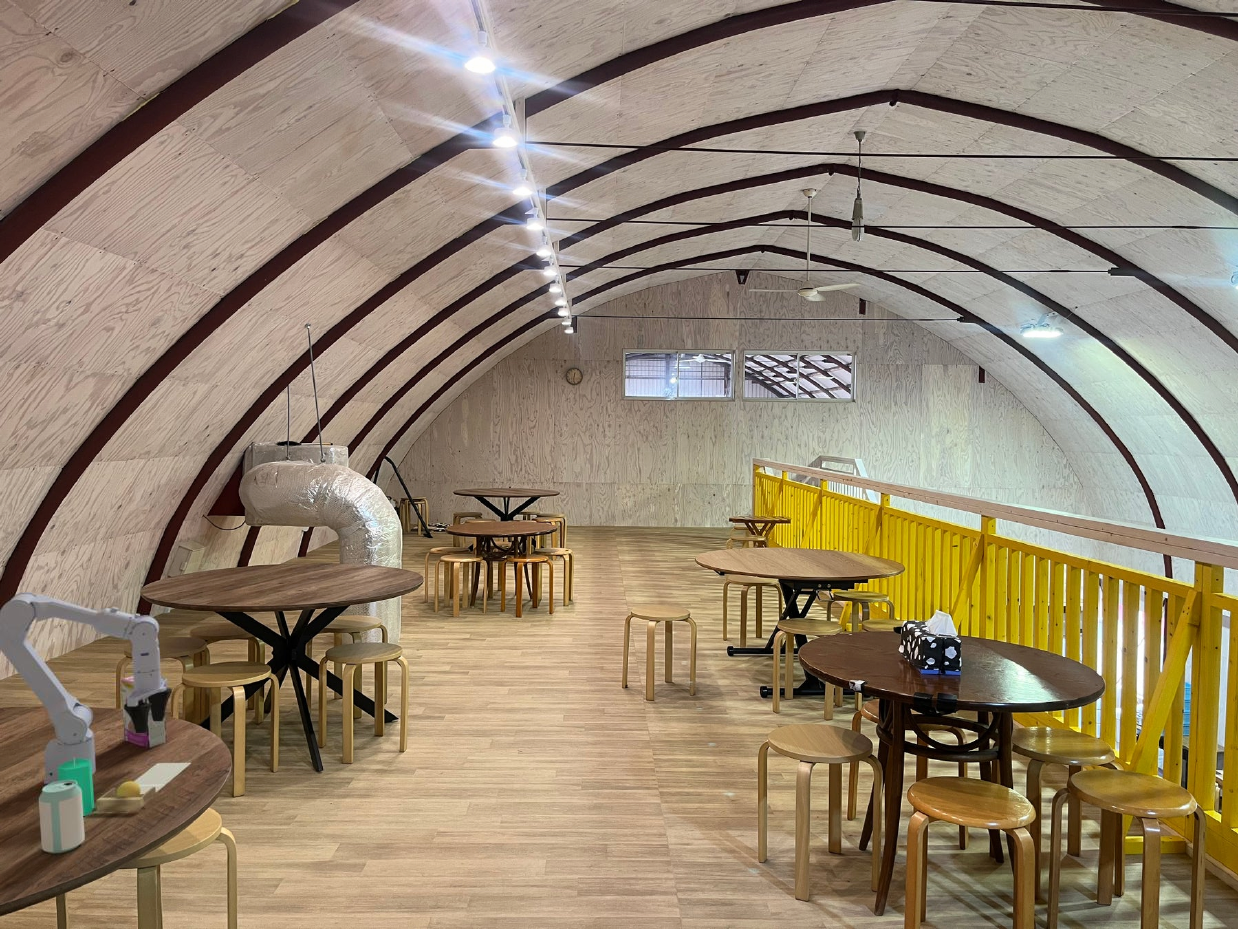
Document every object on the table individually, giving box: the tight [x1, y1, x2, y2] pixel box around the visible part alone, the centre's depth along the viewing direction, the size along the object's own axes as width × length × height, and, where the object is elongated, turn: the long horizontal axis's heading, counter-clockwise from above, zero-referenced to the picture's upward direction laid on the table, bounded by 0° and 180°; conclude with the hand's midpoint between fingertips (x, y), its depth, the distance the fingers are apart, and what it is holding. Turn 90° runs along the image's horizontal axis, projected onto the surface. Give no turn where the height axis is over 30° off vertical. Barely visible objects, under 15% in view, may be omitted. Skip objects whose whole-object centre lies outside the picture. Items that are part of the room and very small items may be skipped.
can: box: [38, 780, 86, 854], centre depth 178 cm, size 7×7×12 cm
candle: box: [58, 757, 95, 817], centre depth 192 cm, size 6×6×12 cm
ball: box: [116, 780, 141, 798], centre depth 196 cm, size 4×4×4 cm
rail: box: [95, 787, 157, 812], centre depth 196 cm, size 9×6×2 cm
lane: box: [133, 762, 192, 795], centre depth 205 cm, size 8×22×1 cm, turn 179°
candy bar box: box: [120, 675, 167, 749], centre depth 231 cm, size 11×5×16 cm, turn 58°
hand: (150, 726), depth 216 cm, fingers open, 7 cm apart
